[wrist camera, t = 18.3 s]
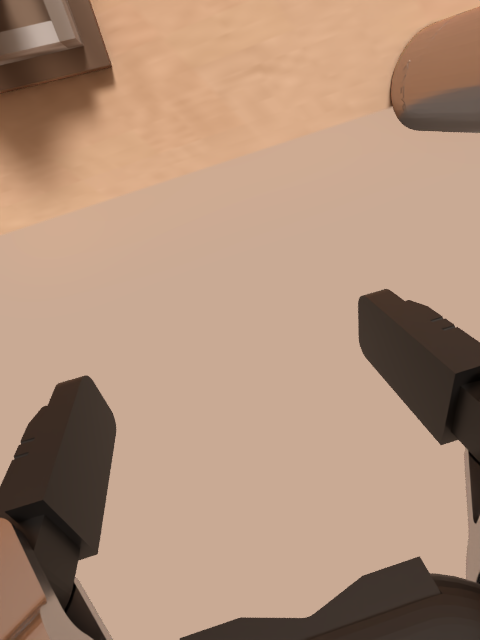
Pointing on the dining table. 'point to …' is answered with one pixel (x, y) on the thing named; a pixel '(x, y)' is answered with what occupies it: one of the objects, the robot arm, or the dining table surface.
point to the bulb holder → (48, 42)
